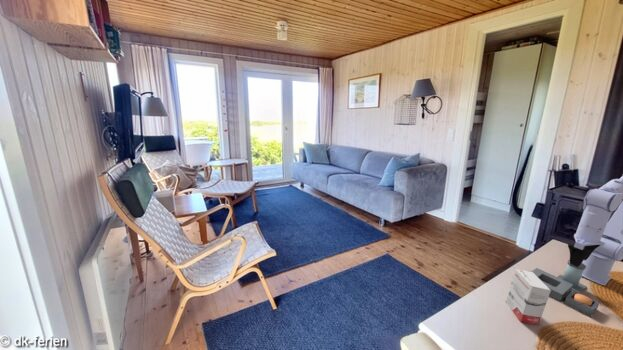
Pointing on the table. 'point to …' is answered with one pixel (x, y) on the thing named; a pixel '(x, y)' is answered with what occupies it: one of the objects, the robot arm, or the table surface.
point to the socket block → (554, 284)
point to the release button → (583, 299)
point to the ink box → (527, 296)
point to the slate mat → (578, 288)
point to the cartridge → (573, 273)
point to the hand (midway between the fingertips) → (578, 261)
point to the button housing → (581, 304)
